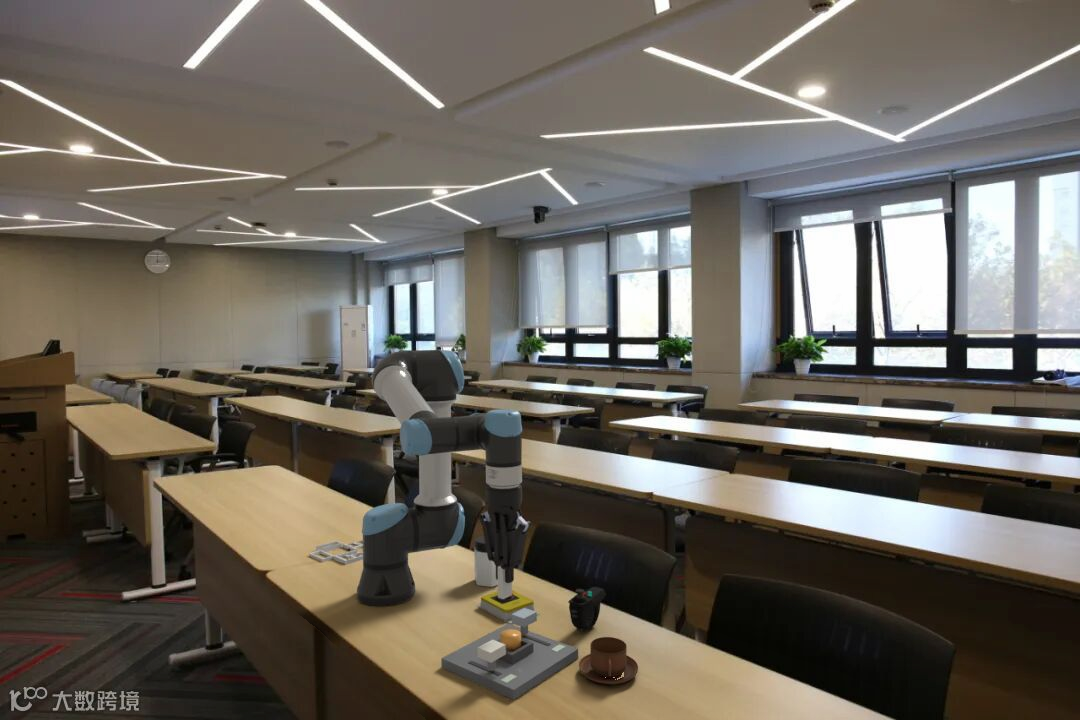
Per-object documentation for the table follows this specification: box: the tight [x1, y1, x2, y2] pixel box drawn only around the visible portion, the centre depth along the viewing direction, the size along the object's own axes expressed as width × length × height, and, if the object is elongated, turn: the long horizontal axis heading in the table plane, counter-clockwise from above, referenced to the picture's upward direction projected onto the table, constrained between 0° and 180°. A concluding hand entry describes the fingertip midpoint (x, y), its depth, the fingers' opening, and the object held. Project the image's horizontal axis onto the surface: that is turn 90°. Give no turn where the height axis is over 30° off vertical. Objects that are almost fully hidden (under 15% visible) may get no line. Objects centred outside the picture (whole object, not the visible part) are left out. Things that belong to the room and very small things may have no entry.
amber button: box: [500, 629, 521, 650], centre depth 144 cm, size 4×4×2 cm
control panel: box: [441, 623, 579, 701], centre depth 144 cm, size 20×21×4 cm
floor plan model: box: [308, 539, 363, 565], centre depth 212 cm, size 19×25×2 cm
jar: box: [473, 534, 498, 588], centre depth 190 cm, size 9×8×12 cm
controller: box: [567, 586, 607, 632], centre depth 160 cm, size 4×12×10 cm, turn 145°
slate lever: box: [512, 608, 538, 635], centre depth 152 cm, size 4×4×5 cm
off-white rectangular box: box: [478, 640, 506, 671], centre depth 136 cm, size 4×4×5 cm
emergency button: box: [477, 589, 541, 625], centre depth 171 cm, size 9×4×15 cm
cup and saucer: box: [578, 636, 639, 685], centre depth 139 cm, size 12×12×6 cm
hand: (504, 596), depth 142 cm, fingers closed
